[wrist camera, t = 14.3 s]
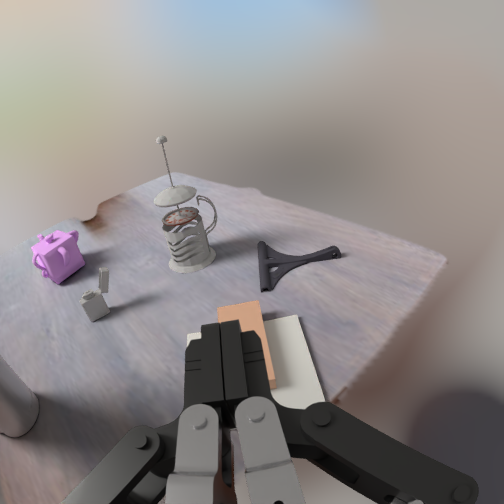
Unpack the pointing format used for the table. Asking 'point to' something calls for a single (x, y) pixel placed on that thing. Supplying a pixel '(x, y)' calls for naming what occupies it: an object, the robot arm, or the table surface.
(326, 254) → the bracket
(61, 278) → the teapot
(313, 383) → the mat
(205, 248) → the french press
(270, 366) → the tile
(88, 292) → the lighter
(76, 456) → the table surface
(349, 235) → the table surface
